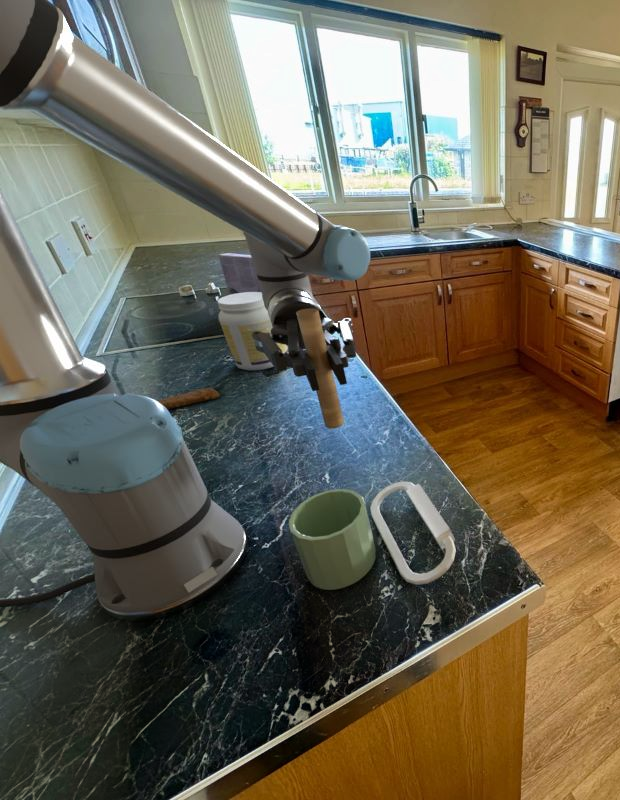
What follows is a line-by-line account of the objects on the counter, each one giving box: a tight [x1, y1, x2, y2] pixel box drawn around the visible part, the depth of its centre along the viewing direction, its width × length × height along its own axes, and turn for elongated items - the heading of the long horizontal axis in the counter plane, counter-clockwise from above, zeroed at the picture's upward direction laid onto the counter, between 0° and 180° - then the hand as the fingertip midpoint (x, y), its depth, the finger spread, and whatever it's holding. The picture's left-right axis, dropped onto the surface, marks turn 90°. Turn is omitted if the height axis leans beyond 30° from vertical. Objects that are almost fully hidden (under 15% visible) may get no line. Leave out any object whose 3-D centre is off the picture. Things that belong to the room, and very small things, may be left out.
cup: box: [288, 488, 377, 591], centre depth 55 cm, size 9×9×9 cm
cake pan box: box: [218, 252, 262, 295], centre depth 143 cm, size 19×5×18 cm, turn 79°
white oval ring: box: [369, 481, 457, 586], centre depth 61 cm, size 20×8×4 cm, turn 35°
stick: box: [296, 308, 345, 430], centre depth 55 cm, size 2×2×16 cm
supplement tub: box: [217, 292, 288, 371], centre depth 106 cm, size 12×12×17 cm
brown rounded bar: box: [157, 387, 221, 411], centre depth 88 cm, size 19×6×4 cm, turn 143°
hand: (327, 377), depth 50 cm, fingers closed on stick, 2 cm apart
